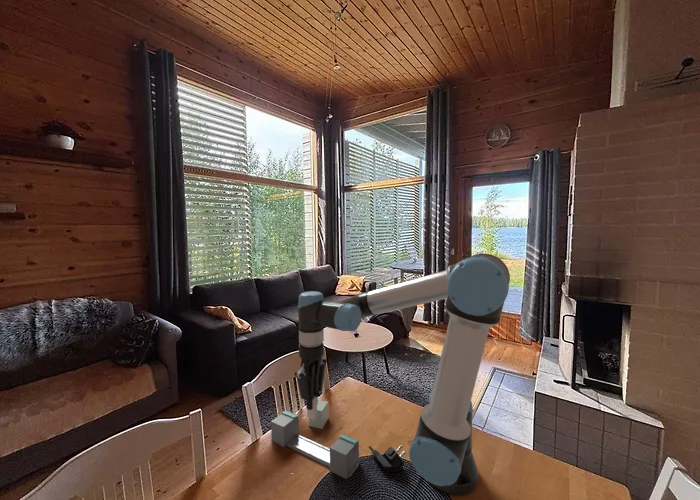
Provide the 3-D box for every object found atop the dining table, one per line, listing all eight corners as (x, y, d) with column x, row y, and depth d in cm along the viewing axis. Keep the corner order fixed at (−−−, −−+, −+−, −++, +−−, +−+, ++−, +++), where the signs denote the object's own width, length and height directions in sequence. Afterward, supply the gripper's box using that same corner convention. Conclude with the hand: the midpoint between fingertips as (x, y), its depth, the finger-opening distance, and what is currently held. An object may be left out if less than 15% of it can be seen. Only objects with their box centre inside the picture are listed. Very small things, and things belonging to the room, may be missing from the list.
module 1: (298, 435, 103) (298, 414, 102) (283, 448, 97) (283, 425, 96) (286, 429, 106) (286, 409, 105) (271, 441, 100) (271, 420, 99)
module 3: (358, 462, 90) (358, 438, 90) (346, 479, 84) (345, 453, 84) (343, 455, 93) (343, 432, 93) (330, 471, 87) (329, 446, 87)
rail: (358, 465, 89) (358, 461, 89) (349, 477, 85) (349, 473, 85) (283, 431, 105) (283, 427, 105) (272, 439, 101) (272, 435, 101)
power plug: (364, 442, 94) (387, 468, 83) (382, 424, 97) (406, 447, 86) (371, 455, 95) (394, 482, 85) (388, 437, 98) (413, 461, 88)
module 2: (328, 420, 111) (328, 401, 111) (322, 430, 105) (321, 411, 105) (315, 417, 112) (315, 399, 112) (309, 427, 107) (308, 408, 106)
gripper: (314, 334, 100) (315, 403, 102) (287, 347, 89) (288, 424, 91) (333, 338, 96) (334, 410, 98) (307, 352, 85) (308, 433, 87)
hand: (312, 417), depth 94 cm, fingers closed
